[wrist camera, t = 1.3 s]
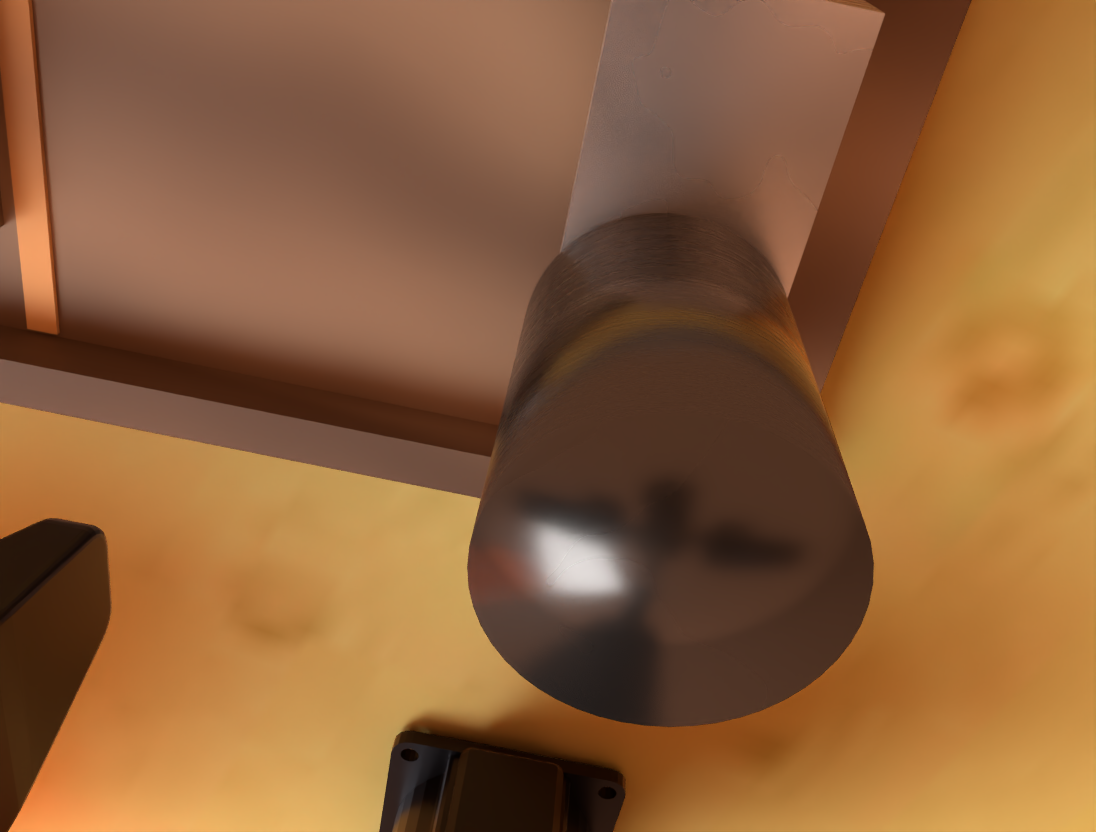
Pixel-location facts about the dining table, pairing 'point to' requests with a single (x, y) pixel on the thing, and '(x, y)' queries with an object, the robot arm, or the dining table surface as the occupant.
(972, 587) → the dining table surface
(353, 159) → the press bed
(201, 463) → the dining table surface
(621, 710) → the jaw
